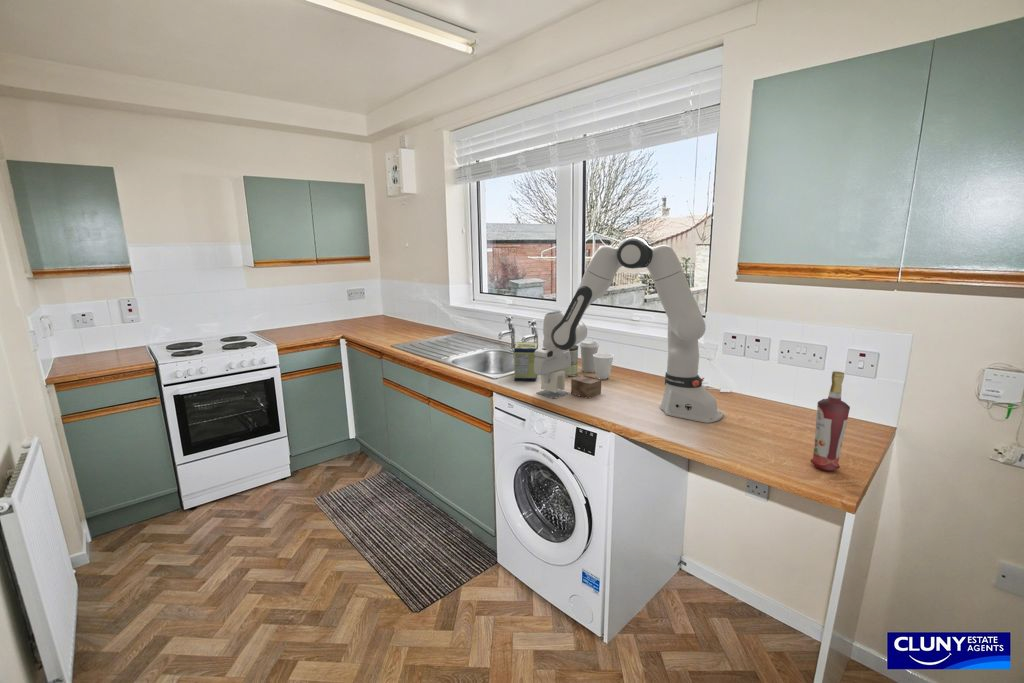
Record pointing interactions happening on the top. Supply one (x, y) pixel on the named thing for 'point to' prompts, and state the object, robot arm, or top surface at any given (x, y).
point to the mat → (552, 394)
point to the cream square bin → (554, 381)
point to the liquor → (830, 427)
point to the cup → (603, 364)
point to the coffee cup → (588, 355)
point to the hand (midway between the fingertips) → (552, 381)
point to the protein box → (524, 361)
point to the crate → (586, 386)
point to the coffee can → (572, 362)
